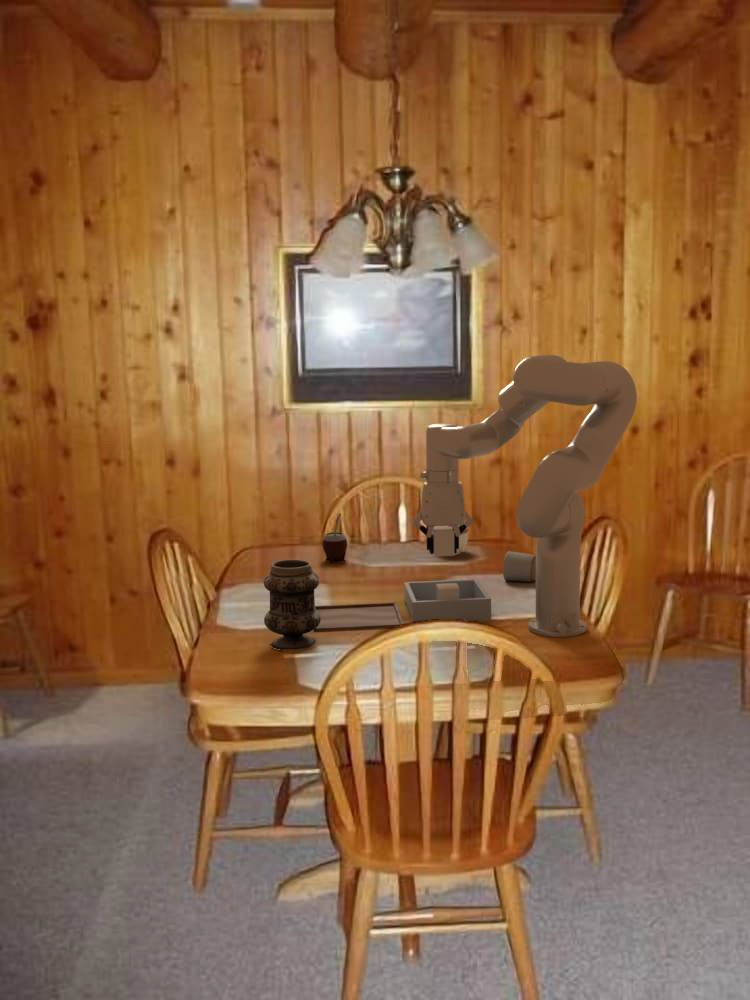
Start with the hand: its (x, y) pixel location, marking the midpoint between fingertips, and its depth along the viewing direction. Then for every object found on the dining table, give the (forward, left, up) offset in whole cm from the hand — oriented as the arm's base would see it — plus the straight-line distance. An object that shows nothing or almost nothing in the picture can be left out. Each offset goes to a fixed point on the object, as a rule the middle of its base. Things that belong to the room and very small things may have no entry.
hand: (442, 551), depth 232 cm
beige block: (-6, 0, -13) cm, 14 cm away
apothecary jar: (-23, +36, -14) cm, 45 cm away
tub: (-3, 0, -14) cm, 14 cm away
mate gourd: (+52, +24, -14) cm, 59 cm away
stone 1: (0, 0, 0) cm, 0 cm away
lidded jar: (+56, -10, -14) cm, 58 cm away
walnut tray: (-7, +21, -14) cm, 26 cm away
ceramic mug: (+22, -24, -14) cm, 36 cm away
